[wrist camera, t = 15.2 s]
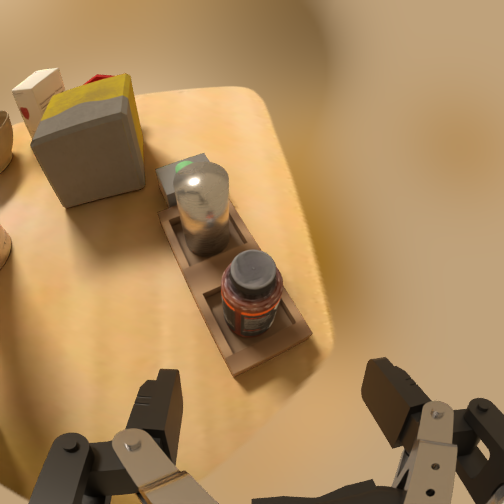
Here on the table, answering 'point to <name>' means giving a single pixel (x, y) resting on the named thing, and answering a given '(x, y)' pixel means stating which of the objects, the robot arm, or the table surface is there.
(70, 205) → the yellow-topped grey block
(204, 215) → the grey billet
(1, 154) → the planter bowl
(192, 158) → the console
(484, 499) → the robot arm
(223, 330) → the brown wooden tray
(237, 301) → the supplement bottle
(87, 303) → the table surface
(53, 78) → the supplement box
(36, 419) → the table surface
